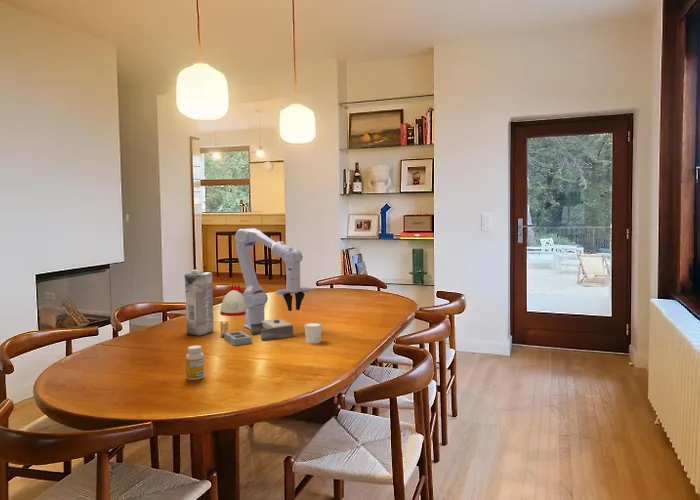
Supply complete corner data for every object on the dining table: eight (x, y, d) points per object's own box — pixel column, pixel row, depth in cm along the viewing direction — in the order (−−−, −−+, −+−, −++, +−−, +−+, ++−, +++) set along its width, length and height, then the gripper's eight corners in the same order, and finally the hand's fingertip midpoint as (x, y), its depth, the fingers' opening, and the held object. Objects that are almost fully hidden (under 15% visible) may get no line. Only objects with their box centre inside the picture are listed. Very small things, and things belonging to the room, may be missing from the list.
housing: (250, 334, 218) (250, 323, 218) (280, 330, 225) (280, 320, 225) (262, 340, 207) (261, 329, 207) (293, 336, 214) (292, 325, 214)
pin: (219, 335, 216) (219, 321, 215) (226, 335, 217) (226, 320, 217) (222, 337, 213) (221, 323, 213) (229, 336, 215) (228, 322, 214)
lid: (261, 326, 220) (261, 318, 220) (280, 323, 225) (279, 316, 225) (273, 332, 210) (272, 324, 209) (292, 329, 214) (292, 321, 214)
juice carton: (216, 331, 224) (215, 269, 222) (200, 336, 214) (198, 271, 212) (200, 329, 228) (198, 268, 225) (183, 334, 218) (181, 270, 216)
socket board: (224, 339, 210) (224, 333, 210) (241, 336, 214) (241, 330, 213) (234, 345, 200) (234, 339, 200) (251, 343, 203) (251, 337, 203)
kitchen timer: (245, 316, 255) (244, 286, 254) (217, 316, 256) (216, 286, 254) (251, 310, 269) (250, 282, 268) (224, 310, 270) (223, 282, 268)
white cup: (324, 340, 207) (324, 323, 207) (318, 344, 201) (317, 327, 200) (308, 339, 209) (308, 322, 209) (301, 343, 203) (301, 325, 202)
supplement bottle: (188, 374, 165) (187, 344, 164) (205, 374, 166) (205, 344, 165) (184, 380, 160) (183, 349, 159) (202, 379, 160) (201, 349, 159)
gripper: (281, 281, 213) (281, 313, 214) (313, 278, 220) (313, 310, 221) (274, 279, 219) (275, 310, 220) (305, 276, 226) (306, 307, 227)
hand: (293, 310), depth 221 cm, fingers open, 3 cm apart
